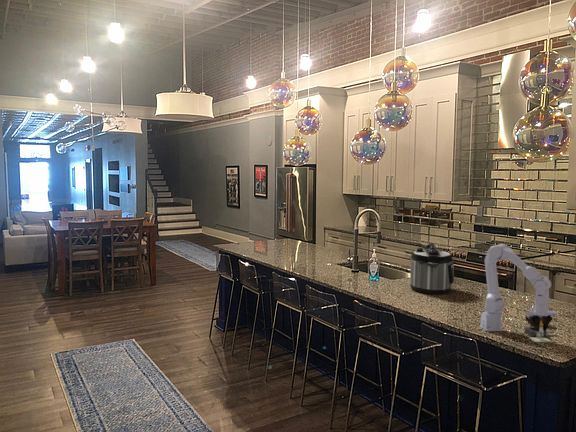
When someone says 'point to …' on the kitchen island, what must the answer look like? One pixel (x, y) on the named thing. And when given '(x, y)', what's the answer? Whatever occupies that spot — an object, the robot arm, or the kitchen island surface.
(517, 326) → the kitchen island surface
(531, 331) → the grey square with handle
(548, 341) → the mat
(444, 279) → the pressure cooker
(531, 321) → the brown looped band
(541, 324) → the metal cylinder
